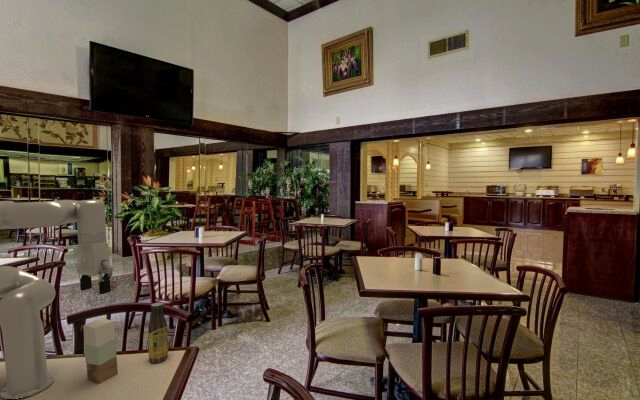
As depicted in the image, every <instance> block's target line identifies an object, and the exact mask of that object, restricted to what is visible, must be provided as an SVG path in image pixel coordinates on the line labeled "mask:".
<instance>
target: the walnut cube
mask: <svg viewBox="0 0 640 400" xmlns="http://www.w3.org/2000/svg"><path fill="white" fill-rule="evenodd" d="M85 363H86V362H85ZM118 373H119V371H118V359H117V355H116V357H114V358H112V359H110V360H108V361H107V362H105V363H103V364H101V365H94V364H89V363H86V377H87V381H89V382H91V383H96V384H98V385H100V384H102V383H104V382H106V381H107V380H109V379H111V378H113V377H115V376H117V375H118Z"/></svg>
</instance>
